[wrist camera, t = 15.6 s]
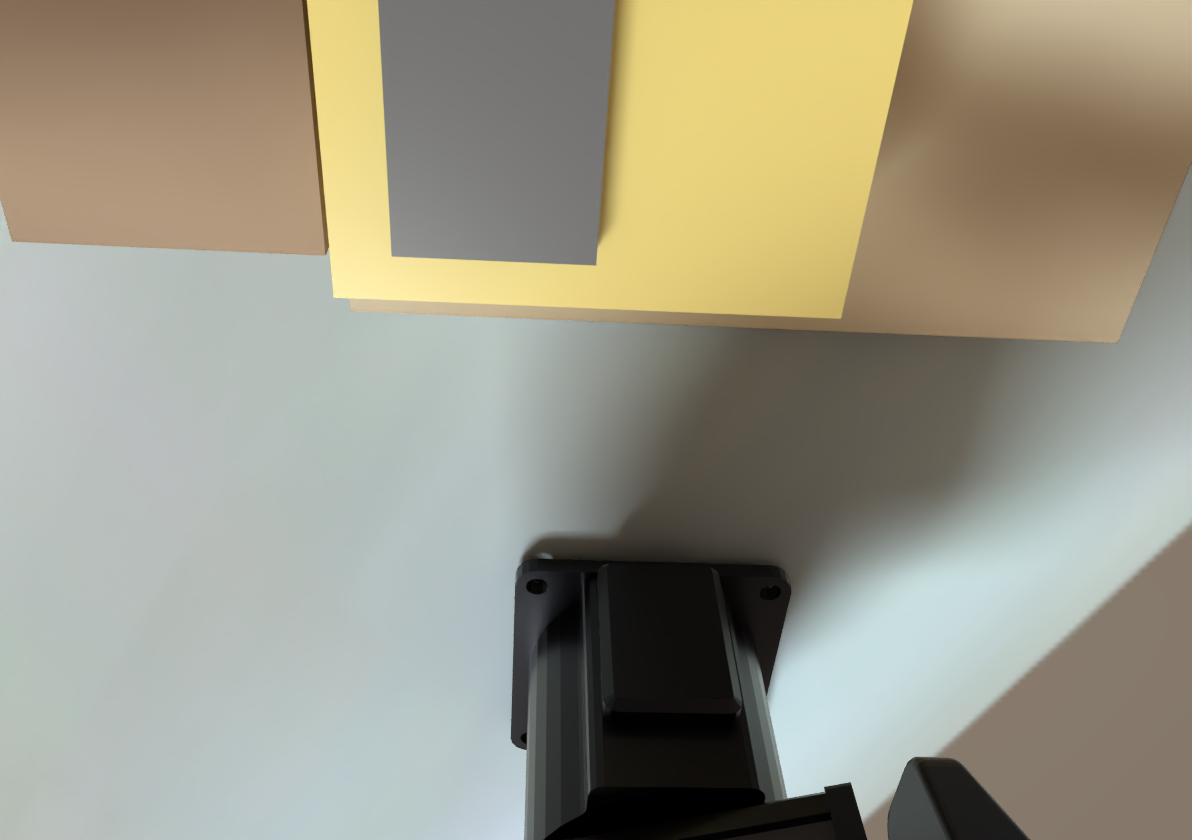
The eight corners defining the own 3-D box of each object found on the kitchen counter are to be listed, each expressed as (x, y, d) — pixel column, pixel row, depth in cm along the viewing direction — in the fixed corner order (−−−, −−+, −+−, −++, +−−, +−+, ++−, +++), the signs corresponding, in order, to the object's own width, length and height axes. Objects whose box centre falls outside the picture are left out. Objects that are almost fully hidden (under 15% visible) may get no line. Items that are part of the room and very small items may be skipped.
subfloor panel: (1100, 323, 21) (1117, 343, 21) (357, 290, 20) (351, 311, 20) (1329, -260, 16) (1363, -258, 15) (310, -342, 15) (298, -342, 14)
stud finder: (804, 237, 19) (848, 335, 16) (363, 216, 19) (328, 313, 16) (876, -129, 16) (947, -87, 13) (336, -167, 15) (286, -131, 12)
